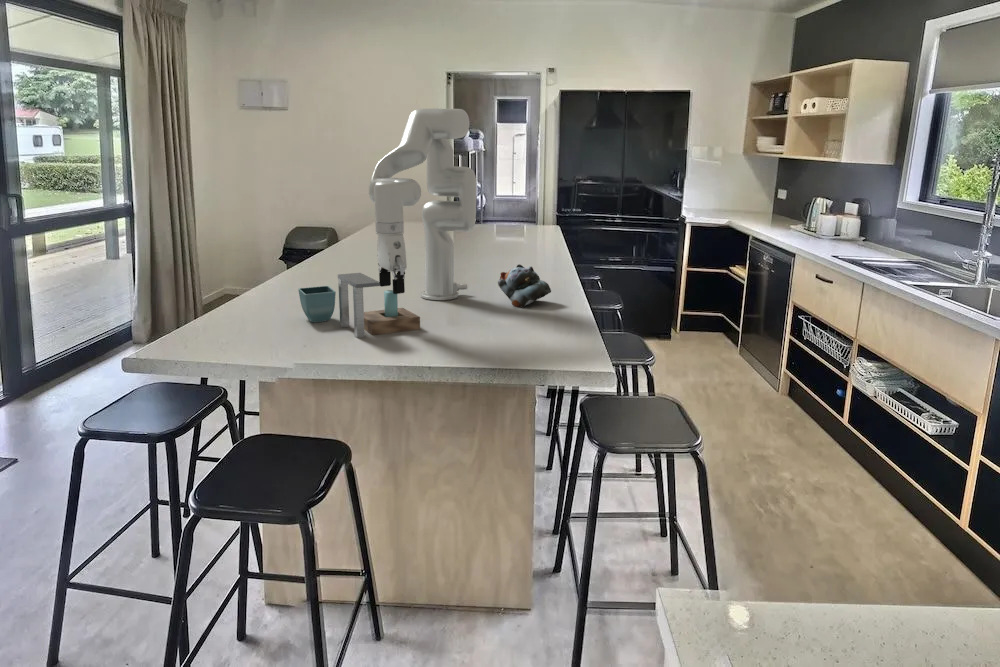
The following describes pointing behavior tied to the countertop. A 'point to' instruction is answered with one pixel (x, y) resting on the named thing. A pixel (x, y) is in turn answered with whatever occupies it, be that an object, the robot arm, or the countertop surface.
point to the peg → (390, 304)
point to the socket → (390, 322)
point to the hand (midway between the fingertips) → (391, 289)
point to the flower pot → (317, 302)
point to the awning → (358, 284)
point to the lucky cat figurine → (523, 286)
